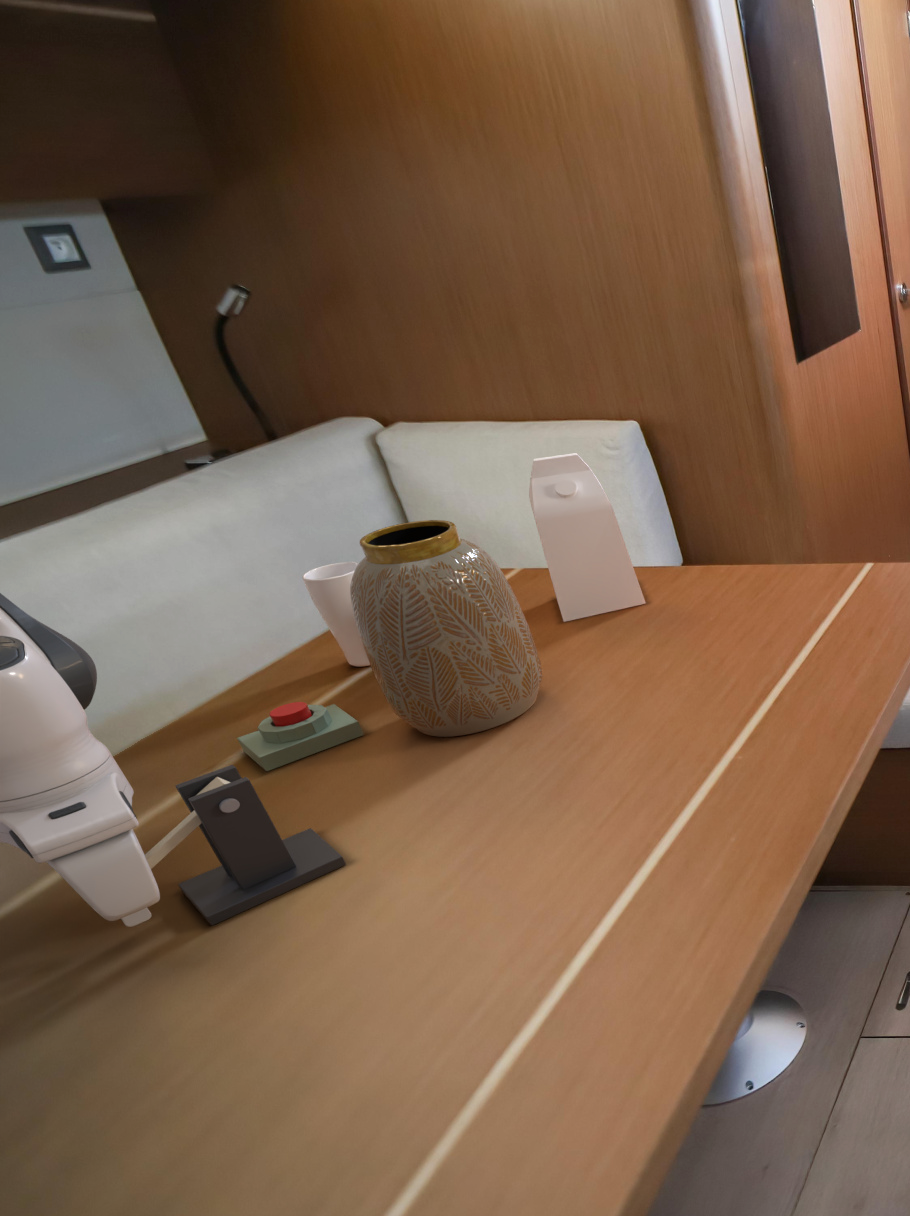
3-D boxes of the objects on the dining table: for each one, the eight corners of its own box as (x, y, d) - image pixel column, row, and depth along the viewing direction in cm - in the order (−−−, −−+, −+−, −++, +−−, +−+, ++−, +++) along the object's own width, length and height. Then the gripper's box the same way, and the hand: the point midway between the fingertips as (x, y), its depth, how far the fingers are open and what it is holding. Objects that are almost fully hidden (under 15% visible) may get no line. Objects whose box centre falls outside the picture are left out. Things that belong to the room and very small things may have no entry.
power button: (280, 730, 122) (275, 719, 122) (270, 722, 124) (264, 711, 123) (316, 718, 125) (311, 706, 124) (306, 710, 127) (300, 698, 126)
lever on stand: (211, 926, 97) (150, 826, 91) (182, 892, 101) (122, 795, 96) (346, 864, 106) (298, 769, 100) (314, 835, 110) (266, 743, 104)
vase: (570, 674, 143) (513, 505, 131) (524, 736, 128) (455, 552, 117) (437, 687, 139) (365, 514, 127) (373, 753, 124) (285, 564, 112)
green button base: (266, 771, 120) (252, 745, 119) (244, 751, 124) (230, 726, 122) (364, 734, 128) (352, 709, 126) (340, 717, 132) (328, 692, 130)
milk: (634, 581, 173) (594, 442, 162) (645, 603, 165) (603, 459, 154) (556, 598, 167) (507, 454, 155) (563, 621, 159) (513, 472, 147)
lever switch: (132, 909, 94) (94, 897, 91) (122, 896, 95) (85, 885, 93) (254, 796, 100) (221, 783, 97) (243, 786, 101) (210, 772, 99)
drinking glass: (397, 663, 145) (358, 574, 139) (339, 674, 142) (296, 583, 135) (403, 645, 150) (366, 558, 144) (347, 655, 147) (306, 567, 140)
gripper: (-21, 779, 91) (56, 890, 97) (33, 857, 82) (115, 974, 88) (76, 748, 96) (143, 855, 102) (137, 818, 87) (208, 931, 93)
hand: (131, 910), depth 95 cm, fingers open, 3 cm apart
